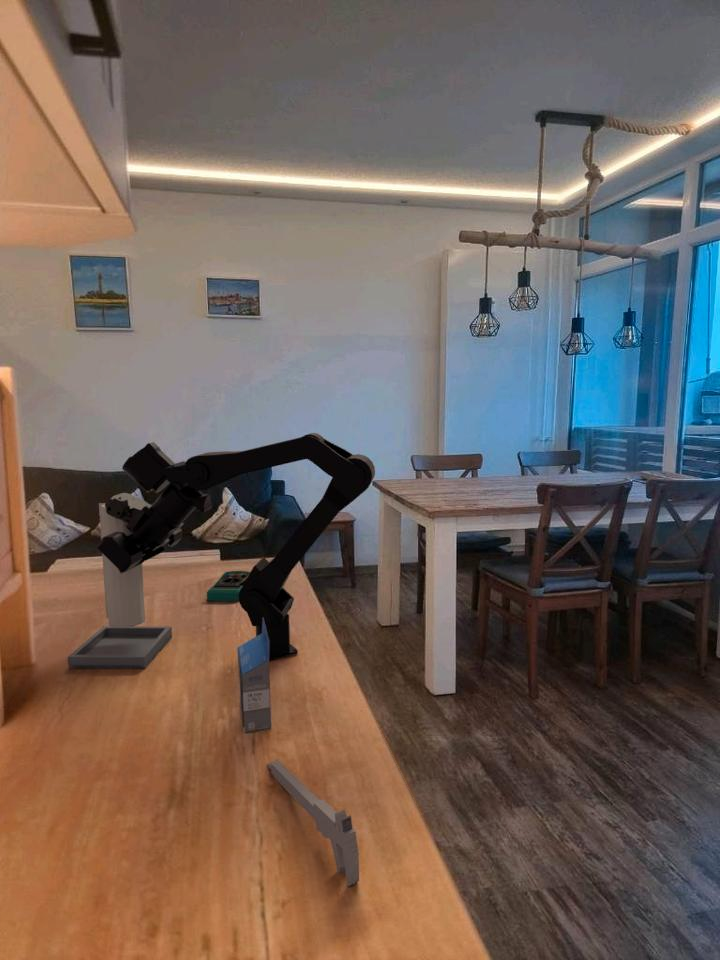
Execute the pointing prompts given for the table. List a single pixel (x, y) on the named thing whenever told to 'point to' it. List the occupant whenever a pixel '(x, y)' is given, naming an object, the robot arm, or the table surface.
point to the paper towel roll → (121, 581)
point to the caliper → (324, 822)
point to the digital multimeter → (227, 586)
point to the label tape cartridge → (255, 683)
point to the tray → (120, 648)
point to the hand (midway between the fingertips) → (115, 572)
